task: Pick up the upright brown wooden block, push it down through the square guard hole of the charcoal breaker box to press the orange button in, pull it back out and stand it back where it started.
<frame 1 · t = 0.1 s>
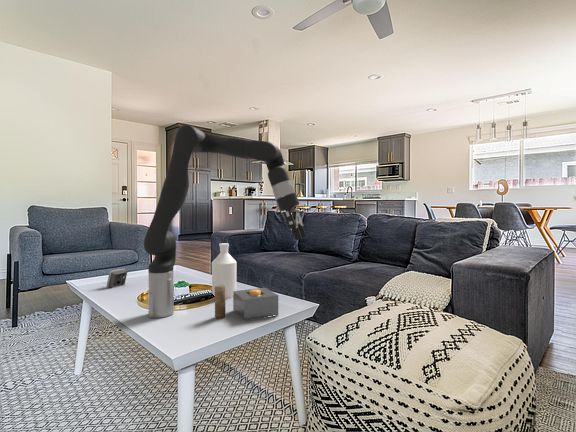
hand: (301, 238, 115), 31 cm above the table, tool tilted 20°, fingers open, 8 cm apart
button: (255, 298, 130), point 6 cm above the table, slide at 0.0 cm
brown wooden block: (220, 317, 125), on the table
electrical switch: (117, 286, 176), on the table
breaker box: (255, 313, 130), on the table
bottle: (224, 295, 157), on the table
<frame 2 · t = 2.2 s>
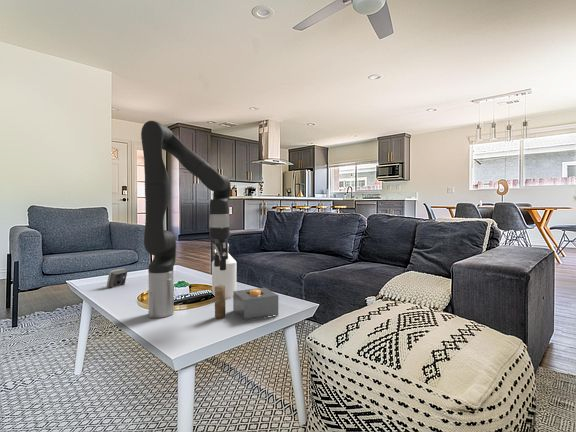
hand: (220, 268, 125), 19 cm above the table, tool pointing down, fingers open, 8 cm apart
nothing on the table moved.
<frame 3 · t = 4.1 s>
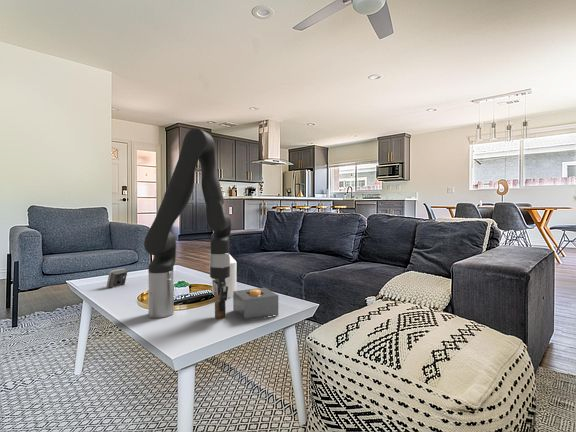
hand: (220, 309, 125), 3 cm above the table, tool pointing down, fingers closed on brown wooden block, 4 cm apart
brown wooden block: (220, 317, 125), on the table, touching gripper
everything else where it was.
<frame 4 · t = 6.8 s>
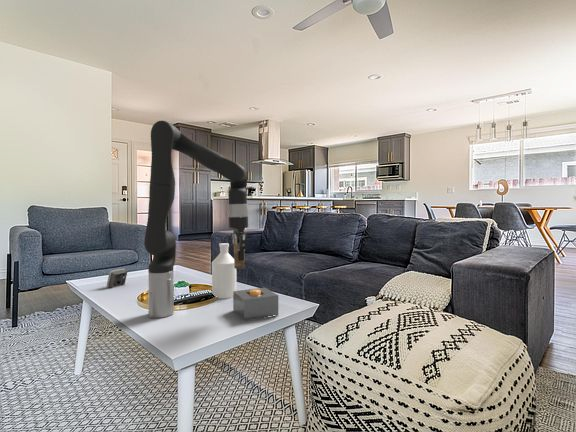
hand: (239, 259, 127), 22 cm above the table, tool pointing down, fingers closed on brown wooden block, 4 cm apart
brown wooden block: (239, 267, 127), point 19 cm above the table, touching gripper
everything else where it was.
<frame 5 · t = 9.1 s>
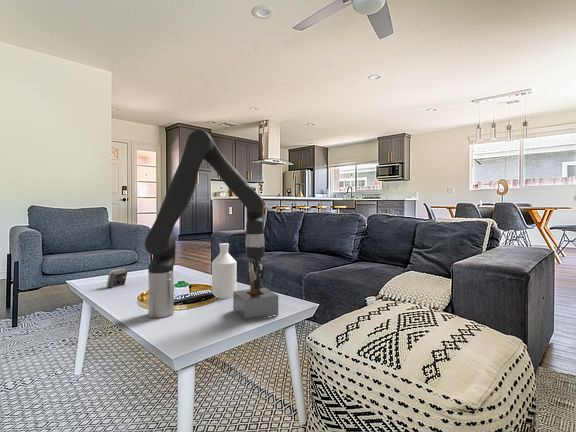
hand: (255, 287, 130), 10 cm above the table, tool pointing down, fingers closed on brown wooden block, 4 cm apart
button: (255, 303, 130), point 4 cm above the table, slide at 2.0 cm, touching breaker box, brown wooden block
brown wooden block: (255, 295, 130), point 7 cm above the table, touching button, gripper
everything else where it was.
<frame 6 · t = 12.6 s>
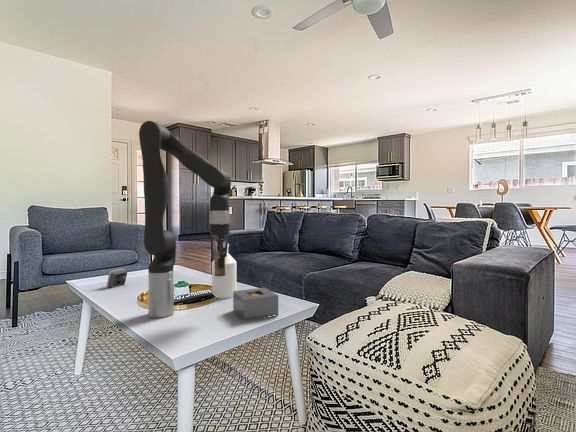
hand: (219, 266, 125), 20 cm above the table, tool pointing down, fingers closed on brown wooden block, 4 cm apart
button: (255, 303, 130), point 4 cm above the table, slide at 2.0 cm, touching breaker box
brown wooden block: (219, 275, 125), point 16 cm above the table, touching gripper
everything else where it was.
when the fingers open (4 cm above the table, at t = 15.5 s): brown wooden block drops 1 cm, on the table.
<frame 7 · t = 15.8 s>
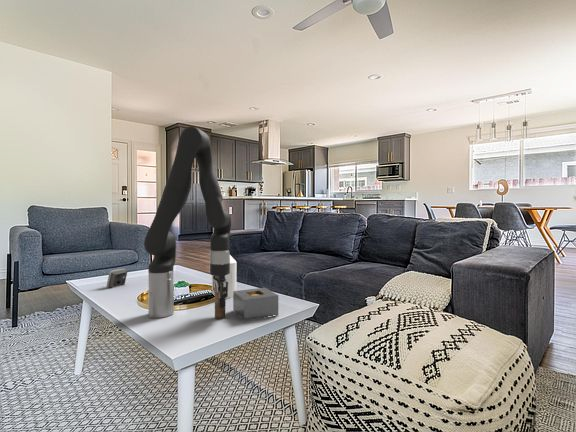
hand: (220, 305, 125), 5 cm above the table, tool pointing down, fingers open, 6 cm apart
brown wooden block: (220, 317, 125), on the table
everything else where it was.
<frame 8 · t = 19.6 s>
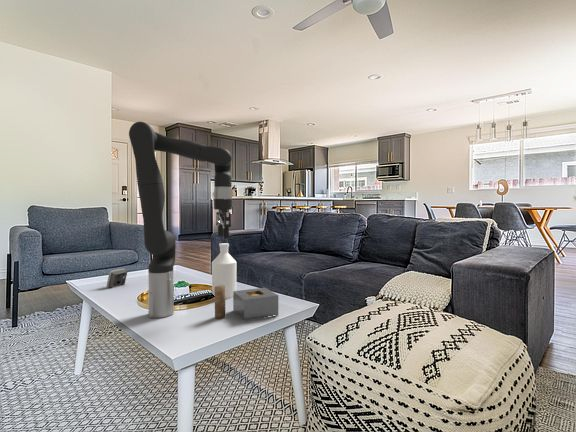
hand: (223, 237, 135), 30 cm above the table, tool pointing down, fingers open, 8 cm apart
nothing on the table moved.
at the end: button slide at 2.0 cm; brown wooden block inside the target area (0.1 cm from its centre), on the table; brown wooden block tilted 0° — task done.
